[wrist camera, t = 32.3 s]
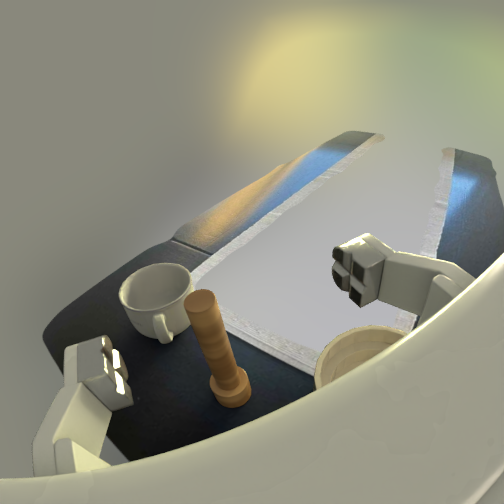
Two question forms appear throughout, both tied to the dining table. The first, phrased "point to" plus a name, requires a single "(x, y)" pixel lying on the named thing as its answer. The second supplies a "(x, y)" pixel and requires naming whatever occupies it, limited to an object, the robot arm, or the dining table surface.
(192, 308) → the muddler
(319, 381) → the bowl
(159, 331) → the teacup
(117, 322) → the dining table surface
